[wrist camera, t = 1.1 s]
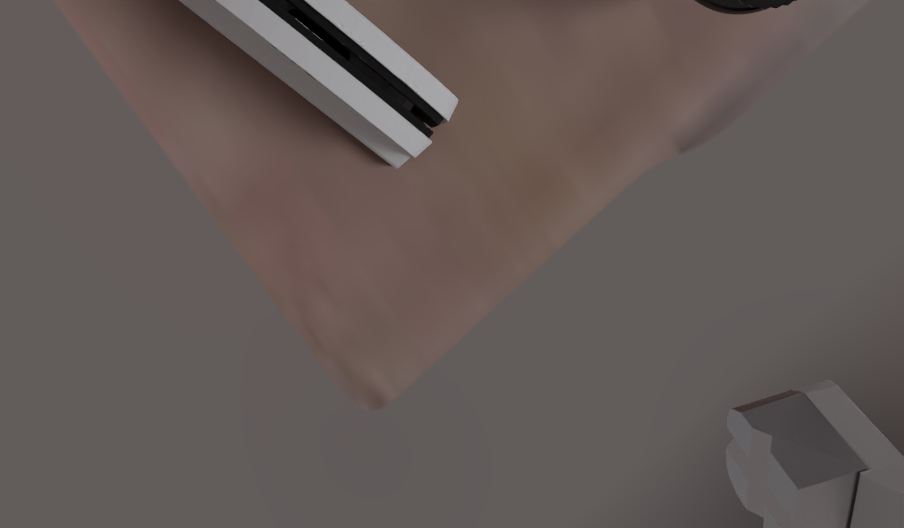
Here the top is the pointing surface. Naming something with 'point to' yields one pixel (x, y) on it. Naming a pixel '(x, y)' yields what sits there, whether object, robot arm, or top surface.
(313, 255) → the top surface
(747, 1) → the supplement bottle
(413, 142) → the white arched piece
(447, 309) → the top surface
